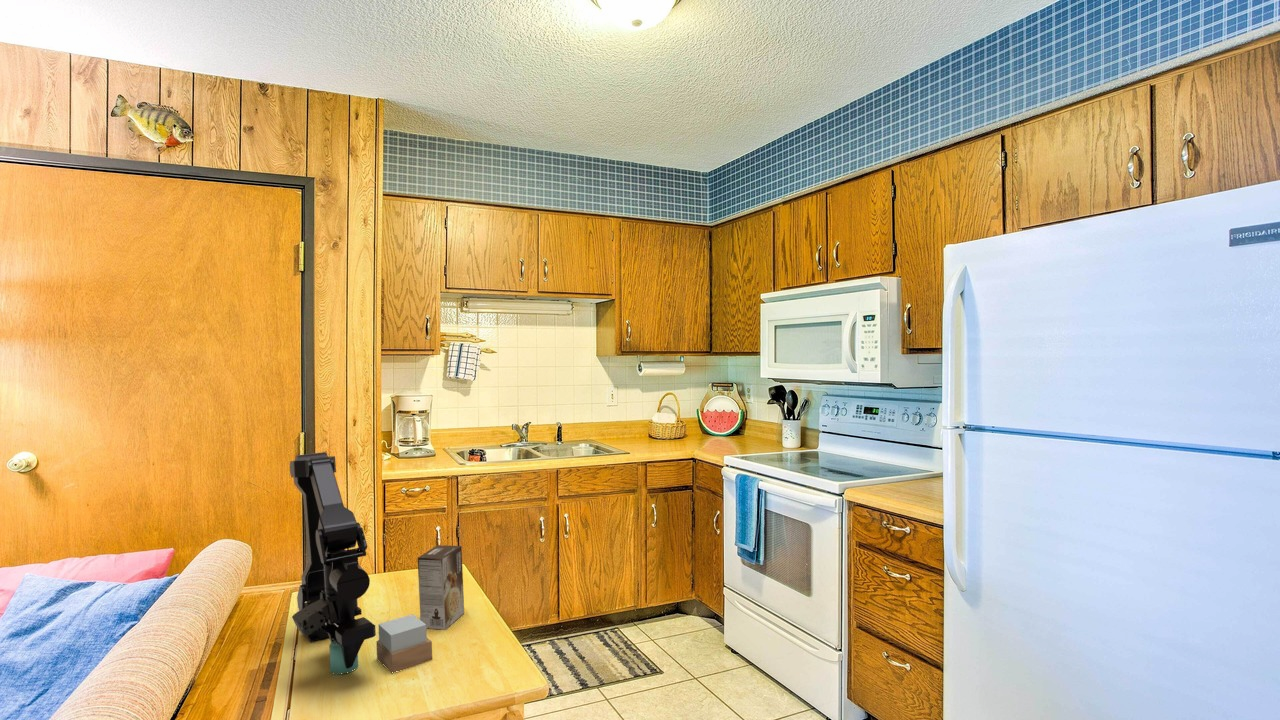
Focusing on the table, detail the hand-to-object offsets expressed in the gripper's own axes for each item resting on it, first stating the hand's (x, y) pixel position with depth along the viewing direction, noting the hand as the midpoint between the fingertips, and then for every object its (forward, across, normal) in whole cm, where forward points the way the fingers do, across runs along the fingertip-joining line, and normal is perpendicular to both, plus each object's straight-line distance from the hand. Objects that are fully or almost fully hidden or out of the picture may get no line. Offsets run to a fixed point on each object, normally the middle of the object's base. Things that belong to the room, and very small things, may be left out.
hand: (344, 663), depth 132 cm
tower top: (-3, +5, +10) cm, 11 cm away
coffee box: (+1, -7, +24) cm, 25 cm away
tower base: (+1, +5, +10) cm, 11 cm away
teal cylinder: (+1, 0, 0) cm, 1 cm away
